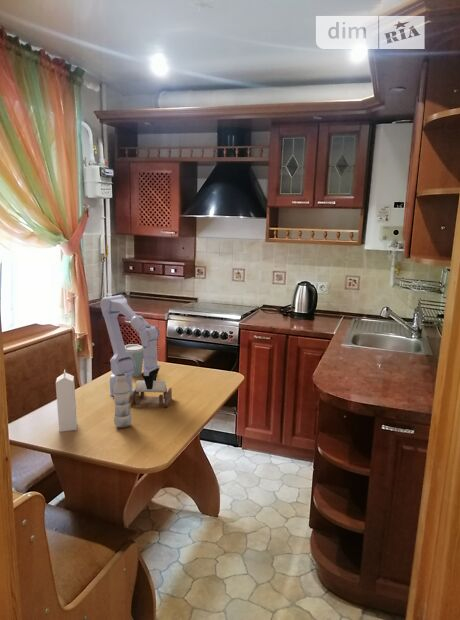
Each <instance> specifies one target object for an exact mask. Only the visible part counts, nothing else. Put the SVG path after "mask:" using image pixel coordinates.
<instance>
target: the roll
mask: <svg viewBox="0 0 460 620" xmlns="http://www.w3.org/2000/svg"><path fill="white" fill-rule="evenodd" d="M166 388H167V381H166V380H156V381H153V388H152V389H147V388H146V384H145V381H144V379H143V380H136V383H135V389H136V392H139V393H141V392H144V393H163V392H164V393H165V392H166Z"/></svg>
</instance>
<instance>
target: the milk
mask: <svg viewBox="0 0 460 620" xmlns="http://www.w3.org/2000/svg"><path fill="white" fill-rule="evenodd" d="M75 386H76V385H75V376H74V375H72V374H70V373H68V372H66V369H64V371H63V373H62V374H61V375H59V376H58V377H56V380H55V391H56V404H57V405H56V406H57V408H56V409H57V417H58V418H57V419H58V420H57V422H58V432H59V433H61V432H70V431H76V430H77V429H78V428H77V427H78V426H77V425H78V419H77V404H76V400H77V399H76V387H75Z"/></svg>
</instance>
